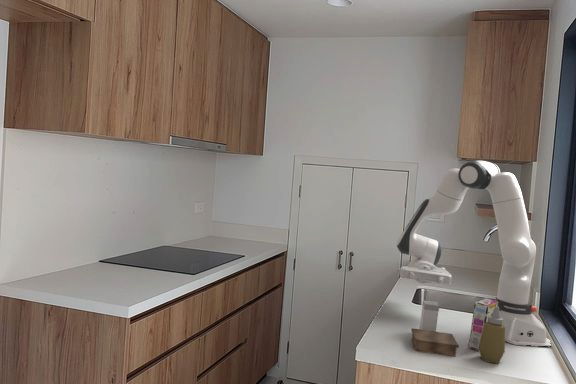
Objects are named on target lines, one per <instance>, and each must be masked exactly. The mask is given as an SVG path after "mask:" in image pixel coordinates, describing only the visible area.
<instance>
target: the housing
mask: <svg viewBox="0 0 576 384" xmlns="http://www.w3.org/2000/svg"><path fill="white" fill-rule="evenodd" d="M421 306H422V307H421V317H420V323H419V329H421V330H428V331H435V332H437V325H438V319H439V317H438V316H439V311H440V305H439V303H438V301H431V300H424V299H423V300H422V304H421Z"/></svg>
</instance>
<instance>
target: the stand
mask: <svg viewBox="0 0 576 384" xmlns="http://www.w3.org/2000/svg"><path fill="white" fill-rule="evenodd" d="M411 333H412V336H411V342H412V345H413V348H414V351H415V352H422V353H430V354H436V355H442V356H450V357H456V355H457V354H456V353H457V349H458V348H459V343H458V341H457V340H456V338H455V337H454V335H453V334H452V333H449V332H443V331H442V332H441V331H436V332H435V331H428V330H421V329H420V328H414V327H413V328H412V327H411Z"/></svg>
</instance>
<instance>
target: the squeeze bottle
mask: <svg viewBox="0 0 576 384" xmlns="http://www.w3.org/2000/svg"><path fill="white" fill-rule="evenodd" d="M502 324H503V318H501V317H500V311H499V307H498V306H495V309H494V311H493V314H492V316H488V322H485V323H484V327H483V331H482V335H481V339H480V343H479V355H480V358H481V360H483V361H485V362H488V363H492V364H498V363H501V362H500V361H501V360H502V358H503V356H504V354H505V351H506V350H505V349H506V341H505V327H504V326H503V325H502Z"/></svg>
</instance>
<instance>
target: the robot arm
mask: <svg viewBox="0 0 576 384" xmlns="http://www.w3.org/2000/svg"><path fill="white" fill-rule="evenodd" d="M469 189H473V190H476V189H477V190H487V192H488V193H489V196H490V198H491V202H492V203H491V204H492V207H493V212H494V217H495V221H496V225H497V235H498V241H499V248H500V253H501V257H502V259H503V261H502V265H501V266H502V267H501V271H500V275H499V281H498V287H497V296H496V297H495V300H494V301H498V307H499V311H500V317H501V318H503V324H502V325H503V326H504V327H505V342H507V343H510V344H511V345H516V346H526V345H531V346H530V347H538V346H551V344H550V343H551V342H552V341H551V340H550V339H549V338H547V330H546V329H547V328H546V327H545V325H544V324H543V323H542V322H541V321H540V320H539V319H538V318H537V317H536V316H535V315H534V314H533V313H537V312H538V308H537V307H536V306H534V305H532V304H531V303H529V299H530V292H531V284H532V280H533V279H532V277H533V275H534V266H535V262H536V255H537V246H536V244H535V242H534V241H533V240H532V238H531V237H532V236H531V233H530V225H529V219H528V214H527V210H526V205H525V201H524V197H523V193H522V190H521V187H520V185H519V182H518V180H517V178H516V176H515V175H514V174H513V173H511V172H508V171H507V172H505V171H503V172H501V169H500V168H499V166H498V165H497V164H496V163H494V162H492V161H488V160H482V159H480V160H479V159H478V160H470V161H467V162H465V163H464V164H463V165H461V167H460V168H457V167H456V168H454V167H453V168H450V169H448V170H447V171H446V173H445V174H444V176H443V177H442V179H441V181H440V182H439V185H438V187H437V189H436V191H435V193H434V194H433V195H432V196H431V197H430V198H426V199H424V200H423V201H422V203H421V204H420V205H419V206H418V208H417V209H416V211H415V213H414V215H412V217H411V219H410V220H409V222H408V224H407V225H406V227H405V228H404V229H403V231H402V233H401V234H400V235H399V237H398V238H397V240H396V241H397V242H396V247H397V249H398V251H399V253H401V254H404V255H407V256H412V257H413V258H412V259H411V260H410V262H409V266H406V265H405V266H404V265H403V266H401V267H399V268H398V269H397V270H398V272H399V277H400V278H403V279H410V280H413V281H414V280H415V281H416V282H418V283H420V284H433V283H434V284H441V285H442V284H444V285H451V283H452V277H453V276H452V274H451V273H450V272H449V271H448V270H447V269H446V268H445V267H443V266H439V265H438V263H439V261H440V259H441V257H442V256H441V255H442V247H441V244H440V242H439V241H438V240H436V239H433V238H430V237H427V236H424V235H421V234H418V233H417V231H418V229H419V227H420V225H421V224H422V223H423V221H424V220H425V219H426V218H428V217H432V216H433V217H434V216H447V215H451V214H454V213H455V212H457V211H458V210H459V208H460V207H461V204H462V203H463V201H464V198H465V196H466V194H467V191H468V190H469ZM550 341H551V342H550Z"/></svg>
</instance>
